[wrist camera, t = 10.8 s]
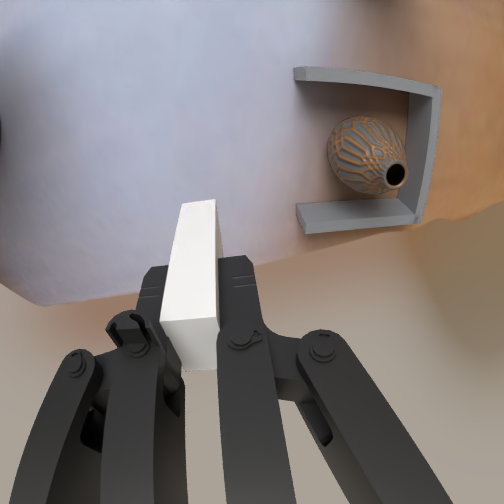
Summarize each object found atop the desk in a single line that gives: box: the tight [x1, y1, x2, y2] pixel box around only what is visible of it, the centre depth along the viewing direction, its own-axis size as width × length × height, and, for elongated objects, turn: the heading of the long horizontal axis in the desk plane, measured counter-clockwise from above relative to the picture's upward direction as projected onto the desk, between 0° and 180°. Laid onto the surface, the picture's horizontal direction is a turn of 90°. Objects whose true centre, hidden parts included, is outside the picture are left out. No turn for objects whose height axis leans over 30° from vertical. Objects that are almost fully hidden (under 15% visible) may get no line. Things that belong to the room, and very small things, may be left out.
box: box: [294, 66, 442, 234], centre depth 23 cm, size 14×15×4 cm
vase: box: [327, 116, 408, 194], centre depth 21 cm, size 7×7×9 cm
